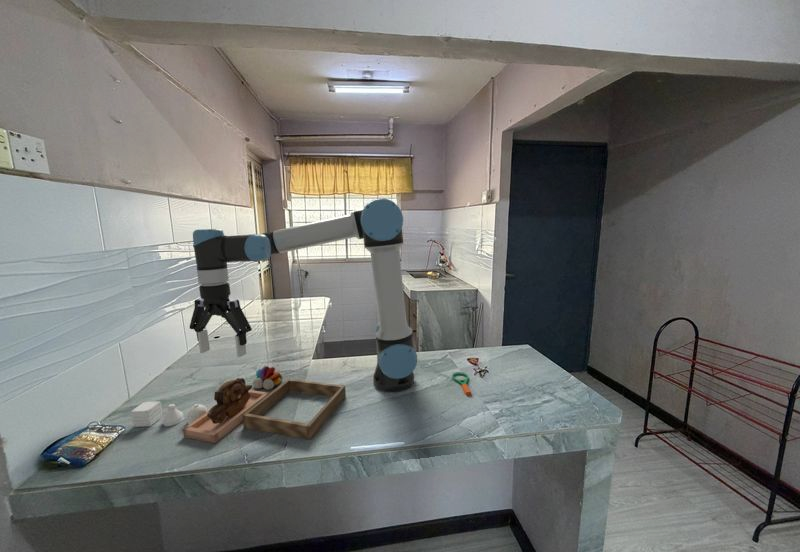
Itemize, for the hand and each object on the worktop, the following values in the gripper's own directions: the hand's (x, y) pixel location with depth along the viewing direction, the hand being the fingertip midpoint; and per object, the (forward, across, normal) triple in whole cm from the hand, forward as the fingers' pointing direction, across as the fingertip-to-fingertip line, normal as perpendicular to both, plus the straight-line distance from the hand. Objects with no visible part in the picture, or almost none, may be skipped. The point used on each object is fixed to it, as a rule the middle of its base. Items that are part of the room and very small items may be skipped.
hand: (223, 353), depth 93 cm
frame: (+21, -19, -7) cm, 29 cm away
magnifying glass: (+22, -68, -36) cm, 80 cm away
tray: (+21, 0, 0) cm, 21 cm away
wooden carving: (+20, -1, 0) cm, 20 cm away
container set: (+21, +16, +6) cm, 27 cm away
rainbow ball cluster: (+21, +2, -19) cm, 29 cm away
